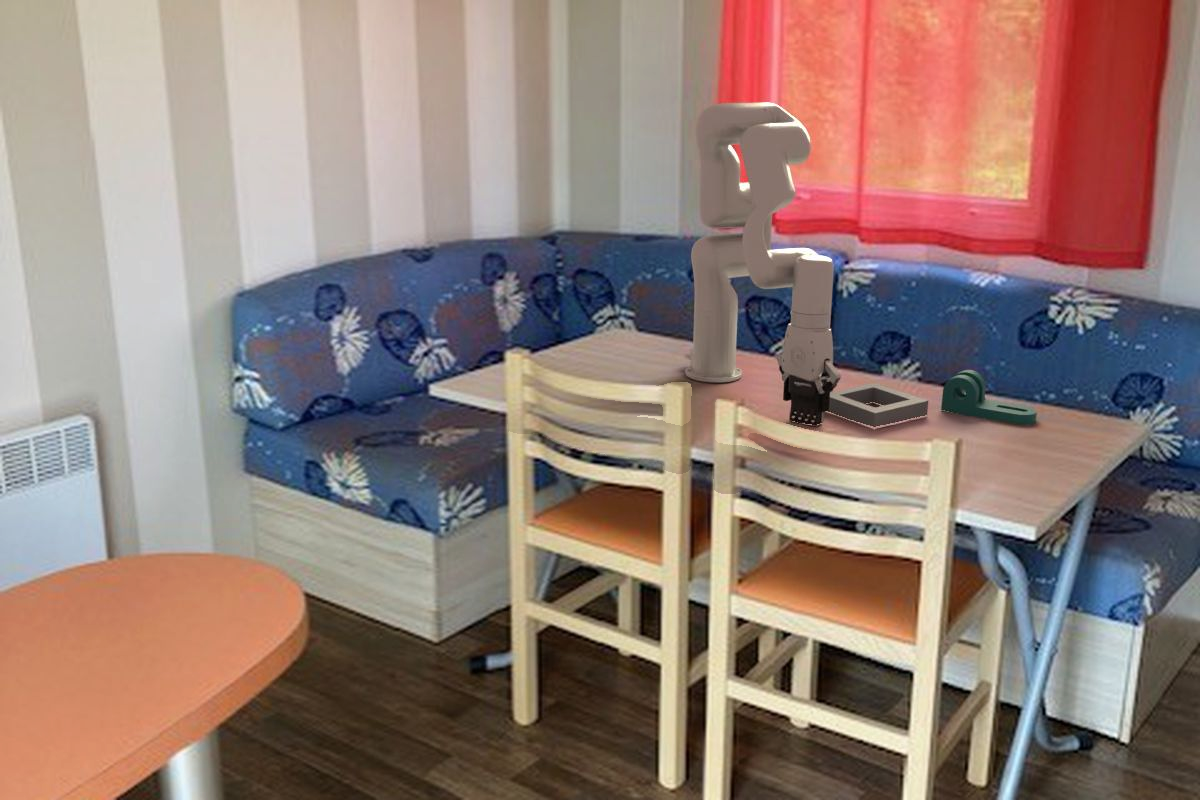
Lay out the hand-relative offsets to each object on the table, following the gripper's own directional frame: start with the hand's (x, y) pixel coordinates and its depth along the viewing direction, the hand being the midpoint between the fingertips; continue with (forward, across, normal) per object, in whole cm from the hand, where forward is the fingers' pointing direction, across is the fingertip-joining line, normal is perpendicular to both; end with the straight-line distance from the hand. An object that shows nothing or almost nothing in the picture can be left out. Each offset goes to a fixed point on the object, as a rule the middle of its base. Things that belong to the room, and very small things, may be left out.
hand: (805, 405), depth 242 cm
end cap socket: (+4, +3, +16) cm, 17 cm away
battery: (+4, 0, 0) cm, 4 cm away
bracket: (+4, +16, +36) cm, 40 cm away
